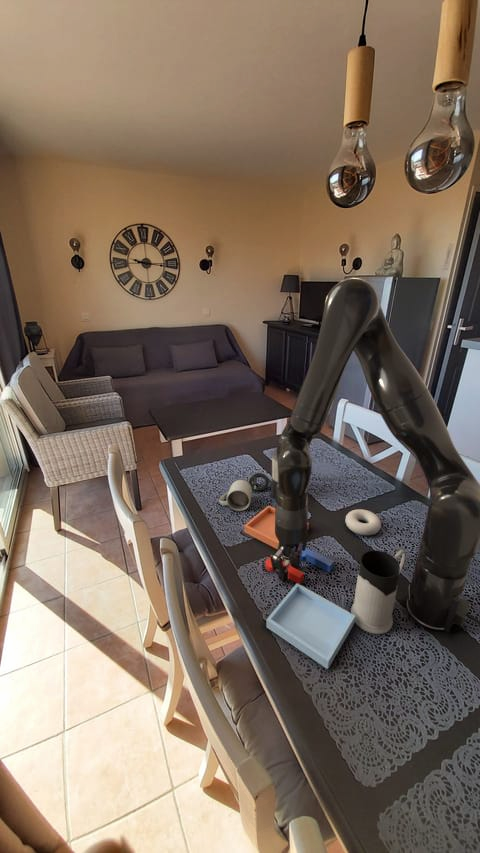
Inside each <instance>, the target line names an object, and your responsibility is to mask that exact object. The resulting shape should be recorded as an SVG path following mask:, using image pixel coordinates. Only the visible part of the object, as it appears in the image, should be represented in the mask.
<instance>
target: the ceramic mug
mask: <svg viewBox="0 0 480 853" xmlns="http://www.w3.org/2000/svg"><path fill="white" fill-rule="evenodd" d="M248 482H249V481H246V480H244V479H237V480H235V481H234V482H233V483H231V486H230V488H229V491H227V492H225V493H224V494H223V495H221V497H220V498H219V501H218V502H219V504H220V505H221V506H225V507H226V506H228V507H229V508H230V509H232V510H233V511H237V512H242V511H245V510H247V509H248V508H249V507H250V505H251V501H252V493H253V490H252V488H251V486H250V484H249V483H248Z"/></svg>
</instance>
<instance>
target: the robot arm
mask: <svg viewBox="0 0 480 853" xmlns="http://www.w3.org/2000/svg"><path fill="white" fill-rule="evenodd" d="M321 320H322V321H321V325H320V329H319V335H318V338H317V341H316V346H315V349H314V351H313V352H314V353H313V355H312V359H311V361H310V363H309V367H308V369H307V372H306V374H305V377H304V379H303V381H302V384H301V386H300V389H299V392H298V395H297V397H296V400H295V402H294V406H293V408H292V410H291V413H290V417H289V418H288V421H287V423H286V424H285V426H284V428H283V430H282V432H281V433H280V435H279V438H278V441H277V443H276V448H275V450H276V452H277V461H278V483H277V492H276V497H275V498H276V502H275V507H274V508H275V535H276V537H277V539H278V541H279V545H278V549H277V551H276V552H275V553H274V552H272V553H271V554H270V556H269V557H270V559H271V564H272V568H273V571H275V572H274V573H276V574H278V580H279V581H281V582H282V583H285V584H286V583H287V582H288V580H289V579H288V568H289V565H290V566H292V567H294V568H295V569H297V570H299V569H300V567H301V560H300V557H301V556H302V550H303V551H305V549H306V548H307V544H308V537H309V534H310V533H309V532H310V528H309V529H307V524H308V523H309V505H308V504H309V503H308V502H309V501H308V500H309V484H310V481H311V476H312V469H313V460H312V455H311V451H310V446H311V443H312V441H313V438H314V437H315V436H317V435H320V433H321V432H322V430H323V428H324V426H325V424H326V422H327V419H328V417H329V415H330V412H331V410H332V407H333V404H334V402H335V399H336V396H337V393H338V390H339V387H340V384H341V381H342V378H343V375H344V372H345V369H346V367H347V364H348V363H349V360H350V358H351V355H352V354H353V352H354V354H355V356H356V357H357V359H358V362H359V363H360V367H361V369H362V372H363V375H364V378H365V381H366V384H367V387H368V390H369V392H370V395H371V397H372V400H373V402H374V405H375V406H376V408H377V411H378V413H379V414H380V417H381V418H382V420H383V422H384V424H385V425H386V427H387V429H388V430H389V431H390V433H391V435H392V436H393V437H394V438H395V440H397V442H399V443H400V444H401V445H402V446H403V447H404V448H405V449H406V450H407V451H408V452H409V453H410V454H411V455H412V456H413V458H414V459H415V460H416V462H417V463H418V465H419V468H420V470H421V471H422V473H423V476H424V478H425V480H426V483H427V485H428V486H427V487H428V489H429V501H428V502H429V503H428V507H427V512H426V516H425V522H424V527H423V531H422V534H421V537H420V542H419V545H418V551H417V555H416V559H415V560H416V561H415V565H414V570H413V574H412V578H411V583H410V585H408V596H407V599H406V610H407V612H408V614H409V616H410V617H411V618H412V619H413V620H414V621H415V622H416V623H417V624H419V625H420V626H422V627H423V628H425V629H428V630H431V631H435V632H445V633H447V634H451V631H452V628H453V626H454V624H455V625H457V626H459V627H461V628H463V626H464V623H465V621H466V618H468V619H469V620H471V621H473V622H475V623H476V624H478V625H480V619H478V618H476V617H475V616H474V615H471V614H470V613H469V612H468V610H469V607H470V604H471V602H470V601H469V600H466V599H464V598H462V595H463V591H464V588H465V585H466V580H467V577H468V573H469V571H470V566H471V563H472V560H473V558H474V557H475V556H476V554H477V552H478V550H479V547H480V482H479V481H478V480H477V478H476V477H475V475H474V473H472V471H471V470H470V468H469V467H468V465H467V464H466V462H465V461H464V459H463V458H462V456H461V455H460V453H459V451H458V450H457V448H456V446H455V445H454V442H453V440H452V437H451V435H450V433H449V432H450V431H449V429H448V427H447V424H446V423H445V421H444V418H443V417H442V414H441V412H440V410H439V408H438V405H437V403H436V401H435V400H434V398H433V396H432V394H431V392H430V390H429V388H428V387H427V385H426V383H425V381H424V379H423V378H422V376H421V375H420V373H419V372H418V370H417V369H416V367H415V366H414V364H413V363H412V362H411V360H410V358H408V356H407V355H406V353H405V352H404V351H403V349H402V348H401V347H400V345H399V344H398V342H397V340H396V339H395V336H394V335H393V333H392V330H391V328H390V325H389V323H388V320H387V319H386V315H385V313H384V311H383V308H382V306H381V302H380V297H379V294H378V291H377V290H376V288H375V286H373V285H372V284H371V283H370V282H369V281H368V280H366V279H363V278H360V277H350V278H346V279H343V280H341V281H340V282H338V283H336V284H335V285H334V286H332V288H331V289H330V290H329V292H328V293H327V295H326V297H325V301H324V309H323V314H322V319H321ZM283 562H284V563H285V566H284V565H283Z"/></svg>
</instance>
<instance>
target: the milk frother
mask: <svg viewBox="0 0 480 853" xmlns="http://www.w3.org/2000/svg"><path fill="white" fill-rule="evenodd" d="M270 456H271V479H270V478H269V477H268V475H266V474H264V473H261V472H257V473H254V474H253V475H251V477H250V478H249V479H248V481H247V482H248V483H249V484H250V486H251V488H252V491H254V492H263V491H265V490H266V489H267V488H268V487H269V485H270V484H271V488H270V494H271V495H272V497H274V498H276V492H277V483H278V461H277V452H276V449H274V450H273V451H271V454H270ZM258 478H261V479H263V480H264V481H265V483H264V485H263V486H260V487H259V483H258Z"/></svg>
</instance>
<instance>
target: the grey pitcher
mask: <svg viewBox="0 0 480 853" xmlns="http://www.w3.org/2000/svg"><path fill="white" fill-rule="evenodd" d="M400 556H401V560H400V563H399V561H398V558H399V557H400ZM406 557H407V552H406V551H405V550H403V549H399V550H398V551H397V552H396V553H395V555H394V556H392V555H391V554H390V553H388V552H385V551H381V550H375V549H374V550H368V551H365V552H364V553H362V555H361V556H360V562H359V570H358V572H357V579H356V585H355V594H354V600H353V604H352V605H351V607H350V613H351V614H353V615H355V623H354V624H356V625H357V626H358V627H359V628H360V629H362V630H363V631H365V632H367V633H370V634H373V635H382V634H385V633H387V632H389V631H390V630H391V629H392V628H393V624H394V618H393V611H394V608H395V601H396V597H397V592H398V581H399V577H400V575H401V572H402V570H403V567H404V565H405V560H406Z"/></svg>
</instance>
